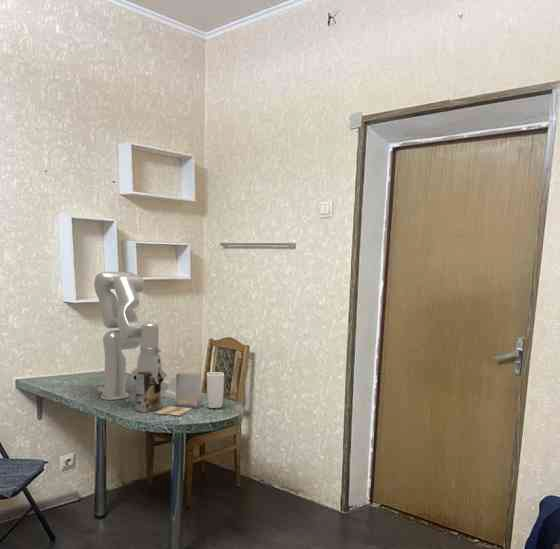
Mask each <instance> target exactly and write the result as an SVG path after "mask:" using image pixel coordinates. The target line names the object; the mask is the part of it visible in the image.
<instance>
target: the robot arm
mask: <svg viewBox="0 0 560 549" xmlns="http://www.w3.org/2000/svg"><path fill="white" fill-rule="evenodd" d="M93 285H94V287H93V288H94V290H95V291H94V292H95V294H96V296H97V299H98V302H99V305H100V312H101V317H102V322H103V326H104V327H105V328H107V329H116V330H109V331H107V332H106V333H104V335H103V337H102V343H103V349H104V386H99V387H98V389H97V392H98V393H102V394H100V399H102V400H106V401H116V400H124V399H127V398H129V396H130V393H128V392H126V384H127V383H126V379H127V378H126V377H127V376H126V375H127V374H126V373H127V359H126V356H125V354H124V353H123V351H125V350H132V349H134V350H135V349H137V348H138V347H139V346H140V348H139V355H138V358H137V363H136V364H137V365H136V369H134V370H133V371H131V373H130V374H131V376H132V377H133V379H134V380H135V381H136V373H149V374H152V378H153V379H154V380H155V382H156V384H155V394H157V393H159V392H160V390H161V391H162V383H163V381H164V380H165V379H166V377H168V374H167V373H166V372H165V371H164V370H163V368H162V358H161V354H159V353H161V352H162V350H161V349H160V348H159V332H160V331H159V328H160V327H159V324H158V323H157V322H150V321H149V320H143V321H141V320H140V321H139V320H138V316H137V313H136V311H135V310H134V309H135V308H137V307H138V306H139V305H140V299H139V295H138V294H139V293H142V292H143V291H144V290H145V280H144V278H143V277H142V276H141V275H139V274H135V273H133V272H132V273H131V272H127V271H126V272H125V271H102V272H99V273H97V274H96V275H95V278H94V282H93ZM112 290H114V292H115V293H114V292H113V291H112ZM158 373H160V375H158ZM159 376H162V377H161V378H160V377H159Z"/></svg>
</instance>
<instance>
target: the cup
mask: <svg viewBox="0 0 560 549" xmlns="http://www.w3.org/2000/svg"><path fill="white" fill-rule="evenodd" d="M224 386H225V373H224V372H222V371H221V372H220V371H214V372H213V371H211V372H207V374H206V393H207V394H206V396H207V397H206V398H207V407H208V409H213V408H215V409H222V407H223V402H224V401H223V400H224V390H225V389H224V388H225V387H224Z"/></svg>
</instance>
